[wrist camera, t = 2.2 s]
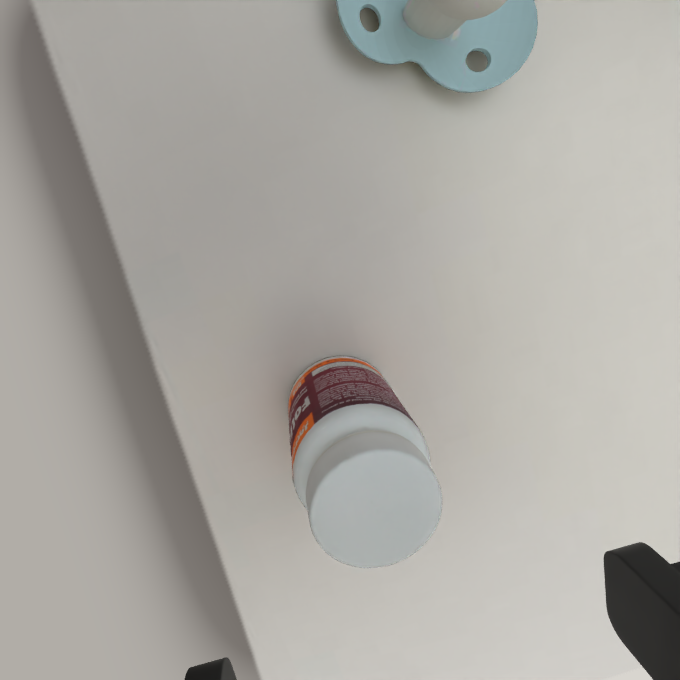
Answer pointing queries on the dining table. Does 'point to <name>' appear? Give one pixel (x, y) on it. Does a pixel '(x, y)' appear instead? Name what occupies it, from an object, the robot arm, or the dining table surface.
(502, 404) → the dining table surface
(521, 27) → the pacifier
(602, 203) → the dining table surface
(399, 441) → the pill bottle
